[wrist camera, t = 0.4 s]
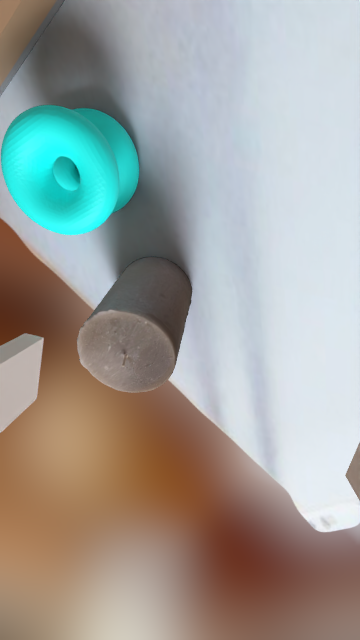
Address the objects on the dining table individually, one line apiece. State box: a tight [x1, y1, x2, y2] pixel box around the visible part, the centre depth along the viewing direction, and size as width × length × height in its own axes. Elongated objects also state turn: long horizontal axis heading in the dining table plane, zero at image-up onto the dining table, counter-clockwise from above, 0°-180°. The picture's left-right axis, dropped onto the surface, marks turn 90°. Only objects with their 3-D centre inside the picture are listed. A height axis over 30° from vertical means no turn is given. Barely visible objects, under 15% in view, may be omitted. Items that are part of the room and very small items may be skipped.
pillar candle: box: [77, 257, 192, 392], centre depth 35 cm, size 10×10×15 cm
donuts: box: [1, 105, 139, 235], centre depth 30 cm, size 10×10×10 cm
